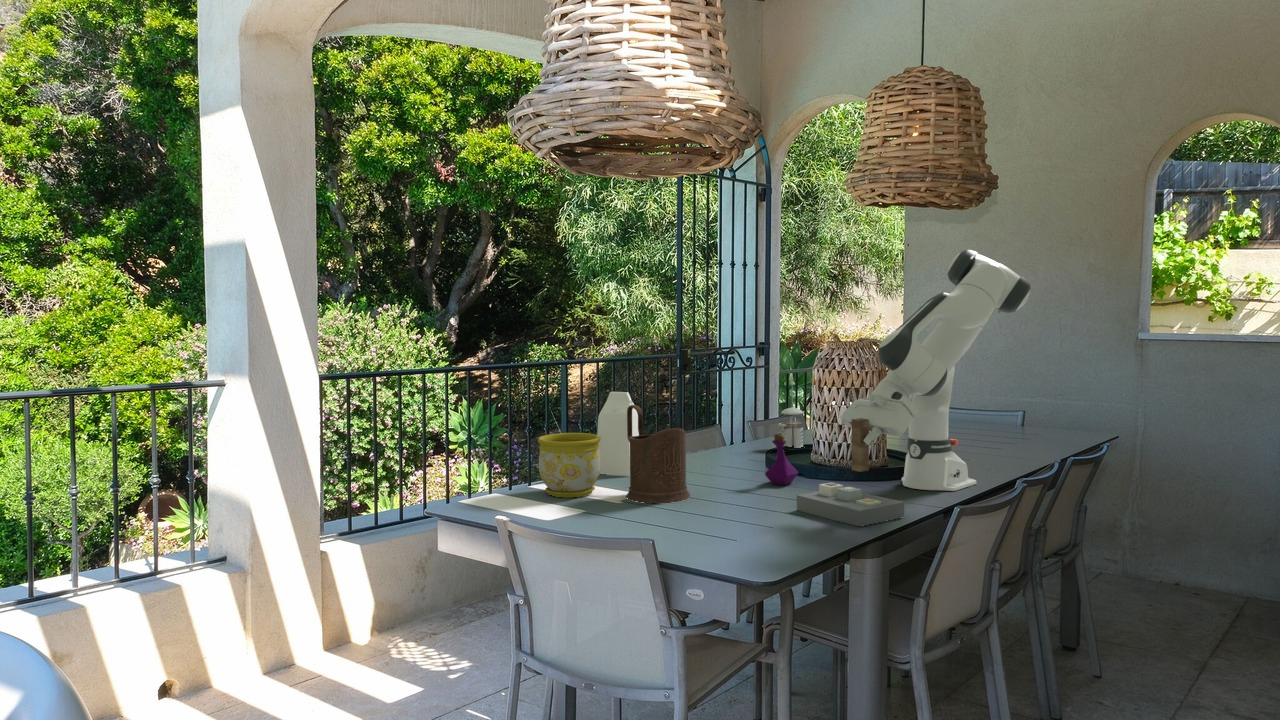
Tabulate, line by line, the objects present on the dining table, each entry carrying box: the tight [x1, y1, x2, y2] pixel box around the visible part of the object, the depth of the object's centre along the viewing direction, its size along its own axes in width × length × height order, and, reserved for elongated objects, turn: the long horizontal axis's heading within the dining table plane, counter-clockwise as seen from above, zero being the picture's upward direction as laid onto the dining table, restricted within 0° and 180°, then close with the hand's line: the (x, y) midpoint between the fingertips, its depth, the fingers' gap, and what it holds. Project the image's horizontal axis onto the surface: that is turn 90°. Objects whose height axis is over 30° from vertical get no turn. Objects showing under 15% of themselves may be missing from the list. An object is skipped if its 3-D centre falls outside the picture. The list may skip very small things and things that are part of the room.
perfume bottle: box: [764, 423, 799, 486], centre depth 275 cm, size 8×8×18 cm
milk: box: [596, 391, 639, 477], centre depth 297 cm, size 12×12×26 cm
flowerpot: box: [537, 432, 601, 499], centre depth 265 cm, size 18×18×16 cm
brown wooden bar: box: [851, 418, 870, 473], centre depth 233 cm, size 3×3×13 cm
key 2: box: [856, 498, 881, 506], centre depth 231 cm, size 4×4×4 cm
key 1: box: [818, 482, 844, 497], centre depth 242 cm, size 4×4×4 cm
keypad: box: [796, 490, 905, 527], centre depth 237 cm, size 16×22×4 cm
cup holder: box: [625, 404, 691, 504], centre depth 262 cm, size 18×24×25 cm
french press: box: [780, 381, 804, 448], centre depth 337 cm, size 10×12×25 cm
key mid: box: [837, 486, 863, 502], centre depth 237 cm, size 4×4×4 cm
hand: (858, 441), depth 232 cm, fingers closed on brown wooden bar, 3 cm apart
